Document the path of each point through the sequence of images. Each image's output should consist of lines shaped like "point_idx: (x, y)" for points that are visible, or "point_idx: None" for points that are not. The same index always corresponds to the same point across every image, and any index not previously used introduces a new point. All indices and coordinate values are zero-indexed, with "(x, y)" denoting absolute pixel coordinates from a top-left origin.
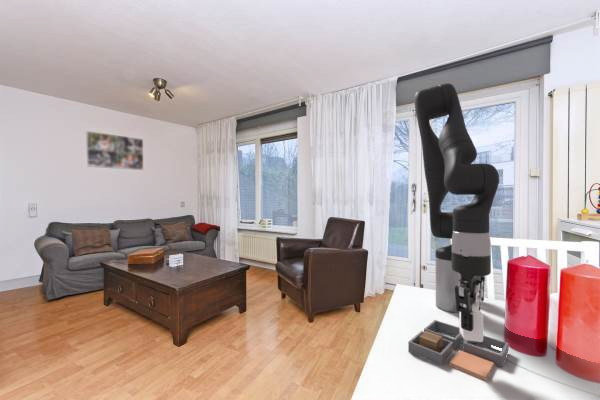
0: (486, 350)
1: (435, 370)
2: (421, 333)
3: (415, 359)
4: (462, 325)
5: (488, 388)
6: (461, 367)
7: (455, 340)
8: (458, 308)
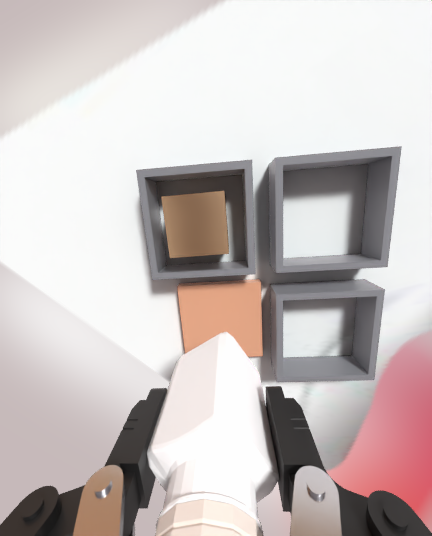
0: (278, 351)
1: (131, 268)
2: (232, 169)
3: (131, 211)
4: (133, 409)
5: (166, 361)
6: (180, 312)
7: (277, 272)
8: (7, 530)
